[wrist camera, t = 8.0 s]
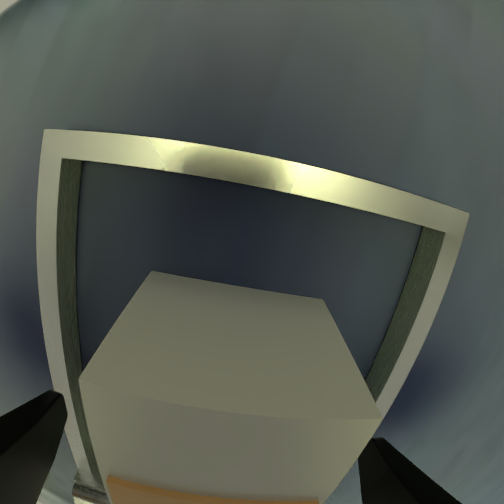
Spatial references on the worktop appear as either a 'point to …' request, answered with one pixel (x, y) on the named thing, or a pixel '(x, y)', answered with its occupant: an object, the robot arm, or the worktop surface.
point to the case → (234, 170)
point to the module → (224, 397)
